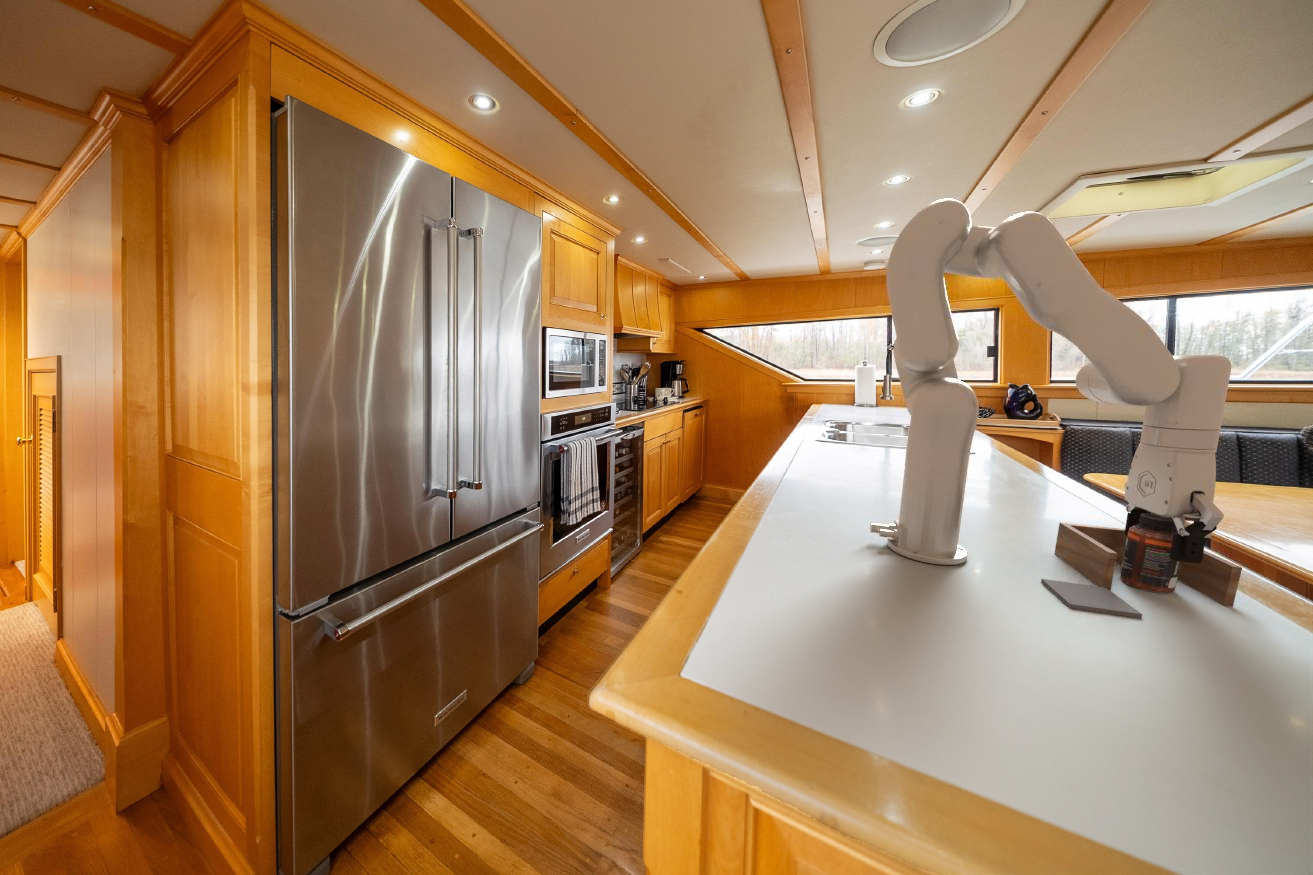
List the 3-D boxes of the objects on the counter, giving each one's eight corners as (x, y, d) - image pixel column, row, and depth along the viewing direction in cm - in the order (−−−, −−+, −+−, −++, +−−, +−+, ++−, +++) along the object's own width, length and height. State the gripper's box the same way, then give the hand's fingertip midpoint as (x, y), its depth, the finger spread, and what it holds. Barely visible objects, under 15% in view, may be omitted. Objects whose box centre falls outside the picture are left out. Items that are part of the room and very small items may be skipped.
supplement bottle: (1186, 597, 67) (1202, 525, 65) (1139, 592, 68) (1154, 521, 66) (1152, 578, 73) (1165, 512, 71) (1108, 575, 74) (1121, 509, 72)
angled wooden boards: (1102, 589, 69) (1109, 552, 68) (1054, 553, 82) (1059, 522, 81) (1232, 606, 64) (1242, 567, 63) (1159, 566, 77) (1166, 533, 76)
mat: (1069, 607, 63) (1070, 603, 63) (1041, 582, 71) (1041, 578, 71) (1141, 618, 61) (1142, 614, 61) (1104, 590, 68) (1105, 587, 68)
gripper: (1108, 430, 76) (1095, 527, 78) (1192, 447, 60) (1171, 569, 62) (1166, 432, 73) (1150, 531, 76) (1269, 450, 57) (1244, 576, 60)
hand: (1159, 548), depth 69 cm, fingers open, 9 cm apart
